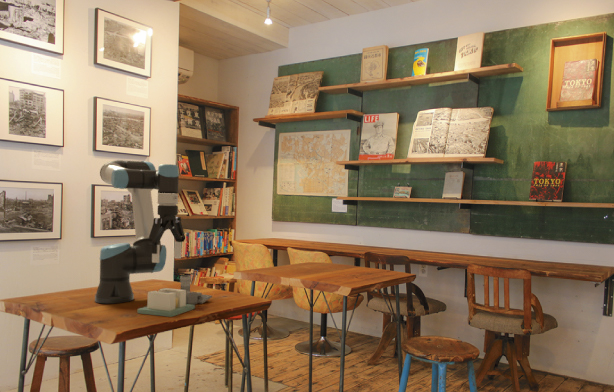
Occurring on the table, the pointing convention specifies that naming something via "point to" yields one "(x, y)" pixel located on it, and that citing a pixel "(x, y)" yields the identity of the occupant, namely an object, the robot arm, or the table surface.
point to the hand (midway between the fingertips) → (166, 260)
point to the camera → (192, 296)
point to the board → (165, 312)
